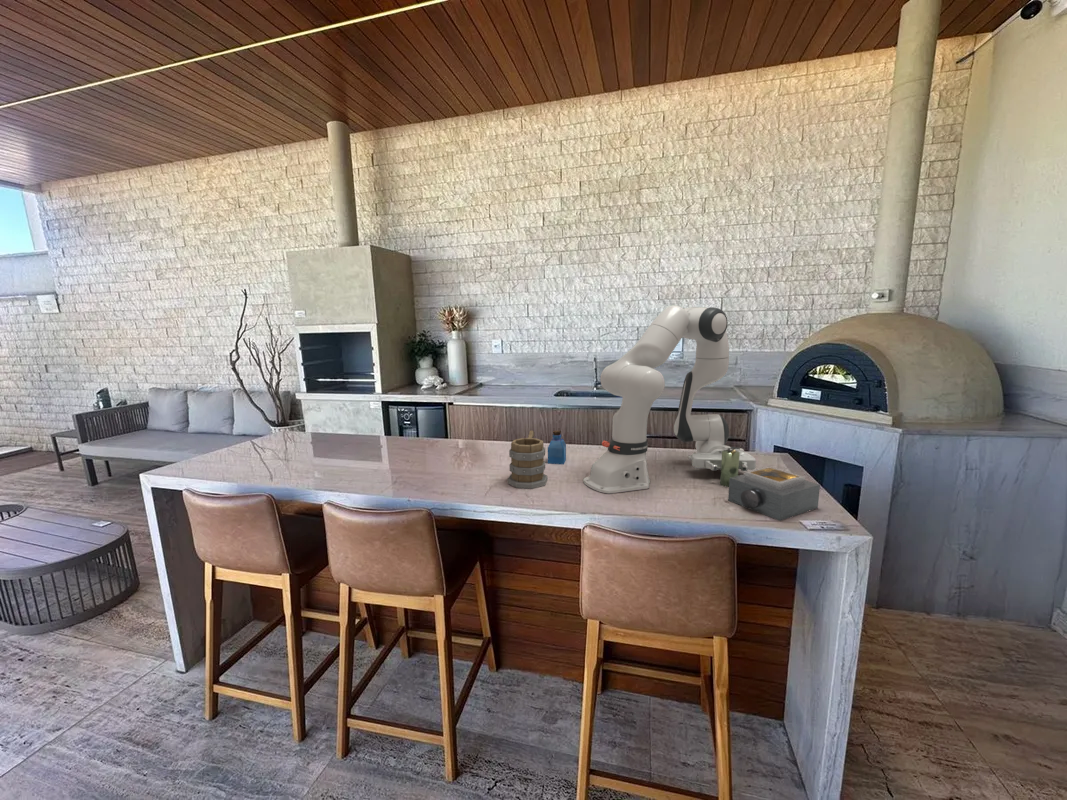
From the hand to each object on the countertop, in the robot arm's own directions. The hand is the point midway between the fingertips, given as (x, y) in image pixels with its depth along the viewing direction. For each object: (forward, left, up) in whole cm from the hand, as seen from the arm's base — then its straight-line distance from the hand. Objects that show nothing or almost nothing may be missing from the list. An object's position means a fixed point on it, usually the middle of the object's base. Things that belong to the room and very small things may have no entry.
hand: (729, 468), depth 142 cm
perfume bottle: (-36, +49, -6) cm, 61 cm away
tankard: (-54, +37, -6) cm, 66 cm away
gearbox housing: (-3, -17, -6) cm, 18 cm away
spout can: (0, 0, -6) cm, 6 cm away
